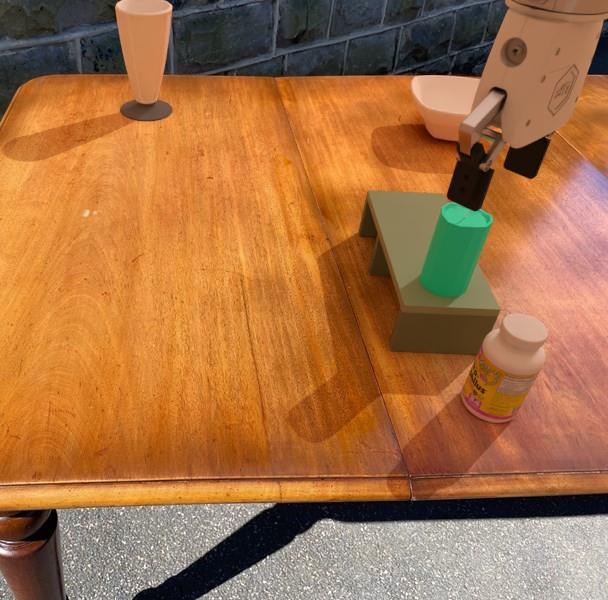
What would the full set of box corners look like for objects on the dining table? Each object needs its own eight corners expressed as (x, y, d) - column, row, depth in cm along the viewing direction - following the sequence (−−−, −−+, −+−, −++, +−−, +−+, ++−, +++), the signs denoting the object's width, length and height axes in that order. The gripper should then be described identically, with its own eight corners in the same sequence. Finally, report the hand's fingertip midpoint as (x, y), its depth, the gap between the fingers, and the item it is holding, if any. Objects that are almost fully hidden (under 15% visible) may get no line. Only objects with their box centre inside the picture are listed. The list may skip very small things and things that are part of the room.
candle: (472, 298, 80) (505, 218, 72) (425, 296, 80) (452, 216, 72) (459, 269, 85) (488, 191, 77) (414, 268, 85) (438, 189, 77)
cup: (177, 119, 136) (178, 13, 122) (124, 122, 134) (118, 14, 120) (167, 97, 145) (167, -4, 131) (117, 100, 142) (111, -3, 128)
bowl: (488, 116, 143) (501, 79, 137) (513, 159, 127) (528, 119, 122) (396, 109, 144) (405, 72, 138) (409, 151, 128) (419, 111, 123)
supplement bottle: (455, 380, 80) (488, 303, 72) (509, 387, 80) (548, 310, 71) (464, 421, 75) (500, 343, 67) (522, 429, 74) (565, 351, 66)
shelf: (481, 355, 84) (501, 309, 79) (390, 351, 84) (404, 305, 79) (430, 235, 105) (443, 193, 100) (358, 232, 105) (367, 189, 100)
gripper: (556, 18, 42) (477, 237, 52) (659, -16, 50) (574, 177, 61) (456, -7, 46) (402, 200, 57) (568, -35, 55) (503, 149, 66)
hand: (491, 188), depth 59 cm, fingers open, 9 cm apart
